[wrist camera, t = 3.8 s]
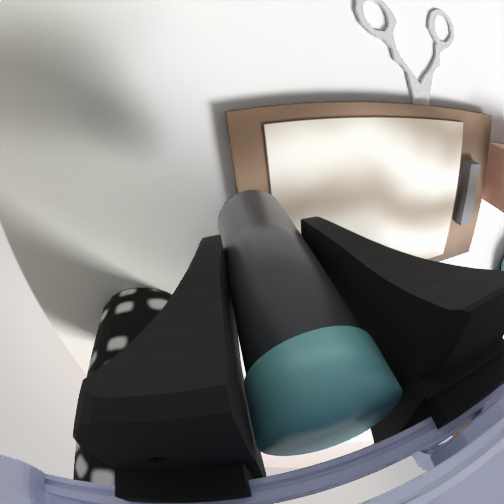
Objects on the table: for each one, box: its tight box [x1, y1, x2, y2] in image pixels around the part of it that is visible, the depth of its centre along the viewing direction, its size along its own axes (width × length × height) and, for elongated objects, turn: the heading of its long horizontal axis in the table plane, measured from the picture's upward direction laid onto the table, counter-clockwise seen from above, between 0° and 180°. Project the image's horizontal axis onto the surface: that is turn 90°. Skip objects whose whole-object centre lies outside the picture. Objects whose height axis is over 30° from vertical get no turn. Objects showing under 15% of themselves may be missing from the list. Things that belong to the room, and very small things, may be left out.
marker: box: [218, 190, 402, 456], centre depth 8 cm, size 3×3×9 cm
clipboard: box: [225, 101, 491, 262], centre depth 20 cm, size 15×24×2 cm, turn 97°
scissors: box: [354, 0, 454, 106], centre depth 17 cm, size 11×1×20 cm
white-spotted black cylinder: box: [73, 288, 172, 485], centre depth 15 cm, size 8×8×20 cm
